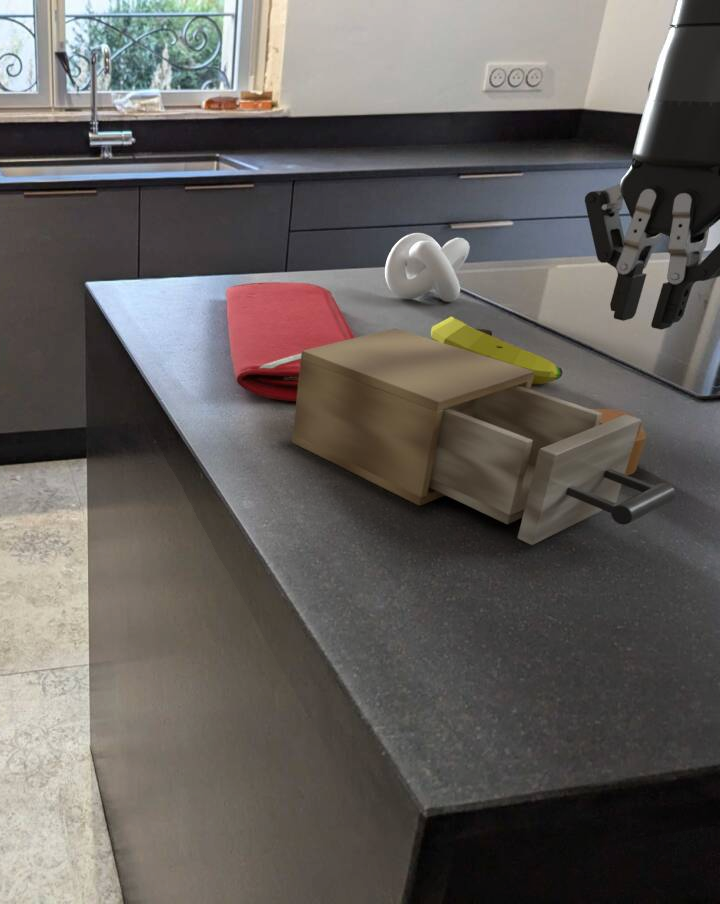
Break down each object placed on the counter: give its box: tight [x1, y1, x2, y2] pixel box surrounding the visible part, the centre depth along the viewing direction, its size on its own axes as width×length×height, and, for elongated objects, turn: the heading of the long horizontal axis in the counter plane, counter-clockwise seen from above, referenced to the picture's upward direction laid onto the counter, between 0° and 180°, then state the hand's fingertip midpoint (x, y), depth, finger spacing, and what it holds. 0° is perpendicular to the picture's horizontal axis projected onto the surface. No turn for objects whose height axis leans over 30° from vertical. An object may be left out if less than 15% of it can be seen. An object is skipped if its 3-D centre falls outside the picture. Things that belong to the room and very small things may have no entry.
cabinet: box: [291, 327, 535, 507], centre depth 73 cm, size 15×13×9 cm
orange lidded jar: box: [594, 408, 647, 476], centre depth 73 cm, size 5×5×4 cm
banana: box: [430, 316, 563, 385], centre depth 98 cm, size 5×17×15 cm
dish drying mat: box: [225, 281, 356, 402], centre depth 103 cm, size 16×41×4 cm, turn 174°
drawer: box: [429, 385, 676, 546], centre depth 64 cm, size 18×11×7 cm, turn 33°
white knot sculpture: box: [384, 232, 471, 303], centre depth 124 cm, size 11×12×9 cm
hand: (641, 321), depth 68 cm, fingers closed
